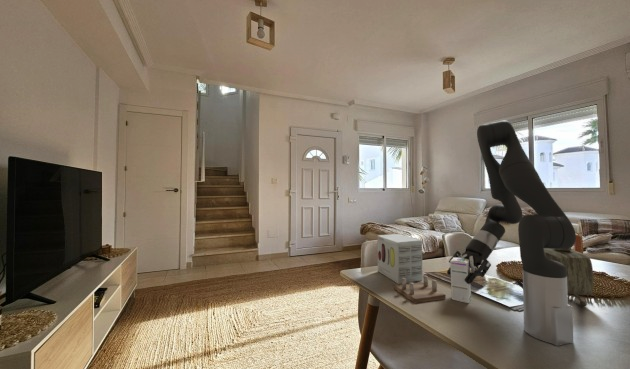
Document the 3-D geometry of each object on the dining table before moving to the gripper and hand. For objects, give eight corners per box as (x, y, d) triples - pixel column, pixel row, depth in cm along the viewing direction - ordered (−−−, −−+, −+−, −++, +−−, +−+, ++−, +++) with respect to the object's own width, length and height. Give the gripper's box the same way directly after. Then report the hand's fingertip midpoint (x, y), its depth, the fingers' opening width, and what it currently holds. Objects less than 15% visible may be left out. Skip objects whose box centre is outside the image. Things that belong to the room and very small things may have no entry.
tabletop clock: (594, 309, 84) (592, 234, 85) (562, 307, 86) (560, 233, 87) (561, 292, 99) (559, 228, 99) (534, 290, 100) (533, 227, 101)
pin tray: (445, 298, 94) (445, 283, 94) (415, 303, 90) (414, 287, 90) (422, 285, 106) (422, 272, 106) (395, 289, 103) (394, 275, 103)
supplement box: (376, 271, 125) (376, 235, 125) (399, 269, 129) (399, 233, 129) (398, 284, 108) (397, 242, 109) (423, 280, 112) (423, 239, 113)
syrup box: (469, 303, 89) (468, 262, 90) (450, 299, 93) (450, 259, 93) (471, 298, 94) (470, 259, 94) (453, 294, 97) (452, 256, 98)
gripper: (461, 235, 103) (437, 266, 100) (493, 242, 89) (467, 278, 86) (471, 247, 104) (448, 278, 101) (505, 256, 90) (480, 292, 87)
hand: (457, 278), depth 93 cm, fingers closed on syrup box, 7 cm apart
